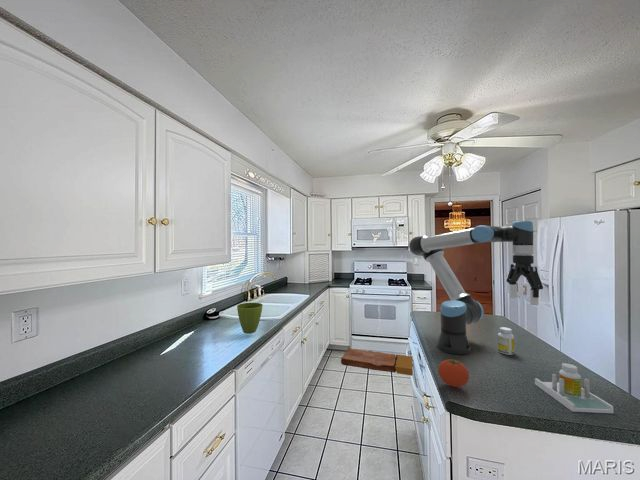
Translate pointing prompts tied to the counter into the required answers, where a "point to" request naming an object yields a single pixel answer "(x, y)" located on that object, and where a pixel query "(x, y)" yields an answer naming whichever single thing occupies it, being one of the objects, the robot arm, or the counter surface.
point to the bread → (378, 361)
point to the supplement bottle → (571, 380)
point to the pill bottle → (506, 341)
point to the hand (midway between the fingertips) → (523, 301)
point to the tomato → (453, 373)
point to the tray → (582, 404)
